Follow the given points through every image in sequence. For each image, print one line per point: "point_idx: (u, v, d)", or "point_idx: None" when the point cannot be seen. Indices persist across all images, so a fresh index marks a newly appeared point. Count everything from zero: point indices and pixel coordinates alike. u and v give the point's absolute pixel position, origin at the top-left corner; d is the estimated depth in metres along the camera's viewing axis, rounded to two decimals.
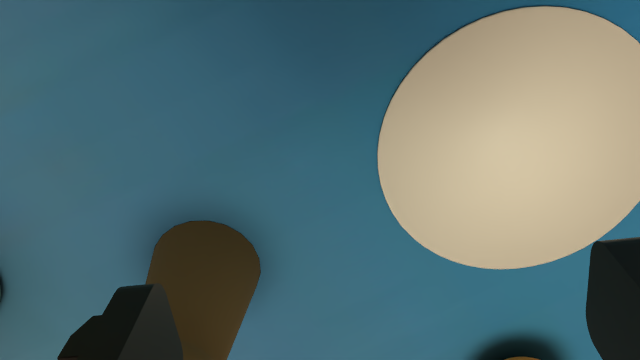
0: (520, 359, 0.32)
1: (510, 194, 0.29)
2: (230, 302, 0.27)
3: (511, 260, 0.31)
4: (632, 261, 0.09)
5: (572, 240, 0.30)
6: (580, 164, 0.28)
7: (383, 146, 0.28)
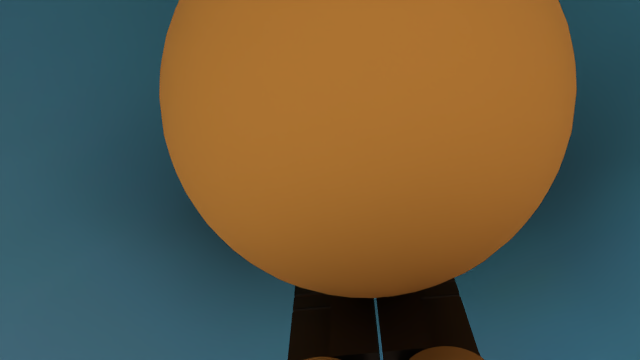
0: None
1: None
2: None
3: None
4: None
5: None
6: None
7: None
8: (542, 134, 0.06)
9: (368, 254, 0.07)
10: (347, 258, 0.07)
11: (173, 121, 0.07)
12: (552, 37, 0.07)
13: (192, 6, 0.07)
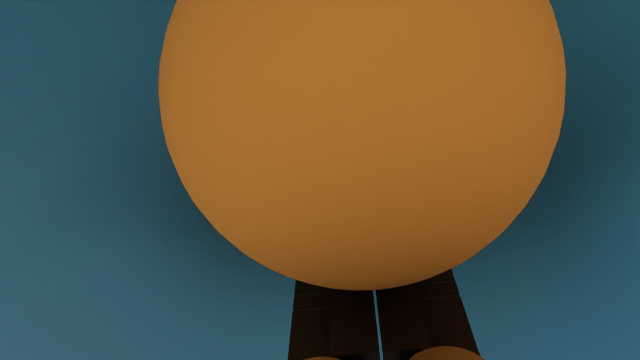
0: None
1: None
2: None
3: None
4: None
5: None
6: None
7: None
8: (534, 101, 0.07)
9: (367, 222, 0.06)
10: (344, 228, 0.07)
11: (171, 102, 0.07)
12: (538, 10, 0.07)
13: None
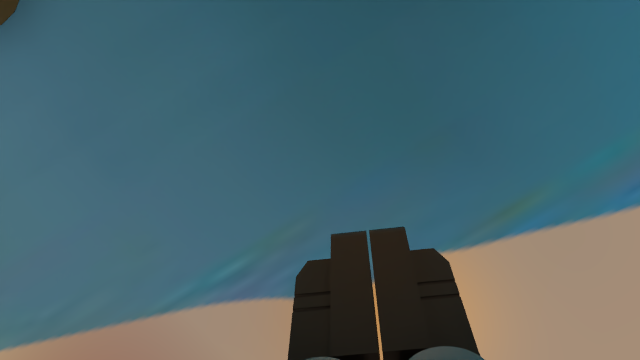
0: None
1: None
2: None
3: None
4: (383, 247, 0.10)
5: None
6: None
7: None
8: None
9: None
10: None
11: None
12: None
13: None
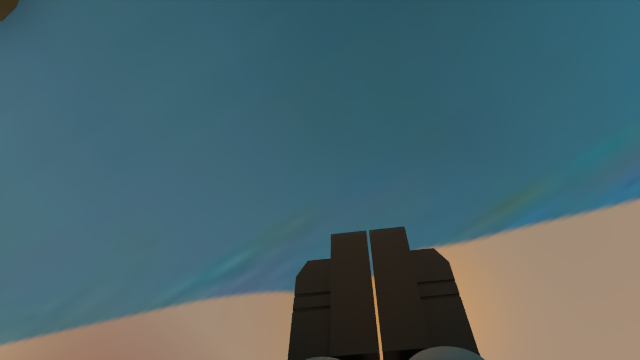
0: None
1: None
2: None
3: None
4: (383, 247, 0.10)
5: None
6: None
7: None
8: None
9: None
10: None
11: None
12: None
13: None
